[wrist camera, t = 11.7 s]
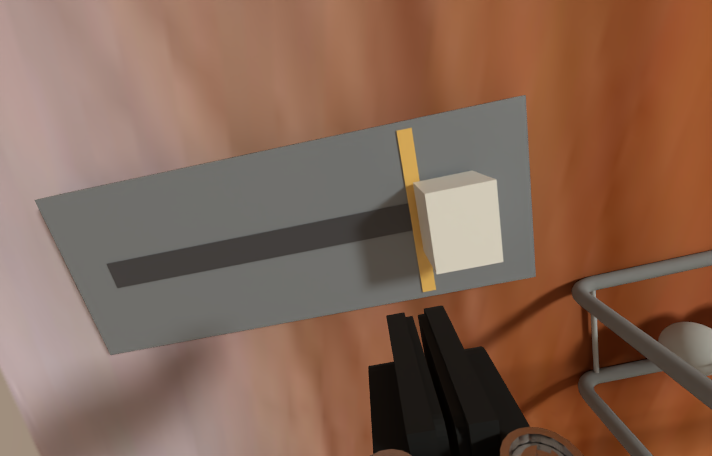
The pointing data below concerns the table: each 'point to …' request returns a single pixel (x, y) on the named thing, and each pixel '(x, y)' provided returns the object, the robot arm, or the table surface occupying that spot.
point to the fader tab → (459, 221)
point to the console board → (288, 229)
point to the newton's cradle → (646, 344)
